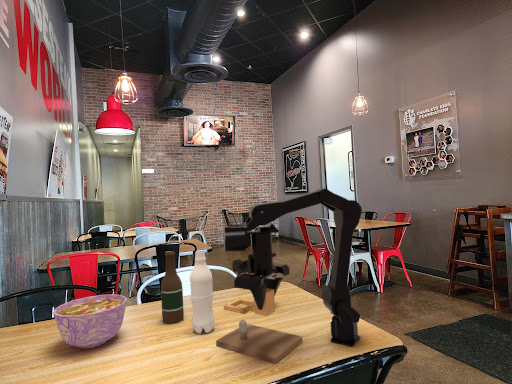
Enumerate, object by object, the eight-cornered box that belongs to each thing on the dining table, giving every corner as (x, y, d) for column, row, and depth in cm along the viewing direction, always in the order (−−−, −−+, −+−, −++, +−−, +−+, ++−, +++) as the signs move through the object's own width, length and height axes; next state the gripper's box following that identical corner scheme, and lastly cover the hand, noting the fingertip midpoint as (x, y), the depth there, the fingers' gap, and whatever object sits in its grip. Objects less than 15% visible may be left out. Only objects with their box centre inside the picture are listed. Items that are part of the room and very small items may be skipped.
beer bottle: (187, 316, 116) (184, 249, 117) (180, 324, 108) (176, 253, 109) (166, 316, 117) (163, 250, 117) (158, 324, 109) (154, 254, 110)
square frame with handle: (278, 309, 89) (277, 287, 89) (263, 318, 83) (262, 295, 84) (240, 302, 97) (239, 282, 98) (223, 309, 91) (222, 288, 92)
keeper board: (302, 341, 91) (300, 318, 91) (275, 364, 80) (274, 337, 80) (246, 328, 103) (245, 307, 103) (216, 345, 91) (215, 322, 91)
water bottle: (210, 335, 98) (206, 253, 99) (188, 334, 100) (184, 254, 100) (218, 326, 105) (214, 249, 106) (197, 325, 107) (193, 250, 107)
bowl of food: (43, 364, 86) (42, 320, 86) (66, 334, 105) (65, 299, 105) (124, 351, 91) (122, 309, 91) (131, 325, 110) (130, 291, 110)
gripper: (258, 243, 100) (260, 293, 100) (216, 253, 85) (219, 312, 85) (289, 245, 94) (291, 299, 93) (250, 256, 78) (253, 320, 78)
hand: (264, 307), depth 88 cm, fingers closed on square frame with handle, 4 cm apart
